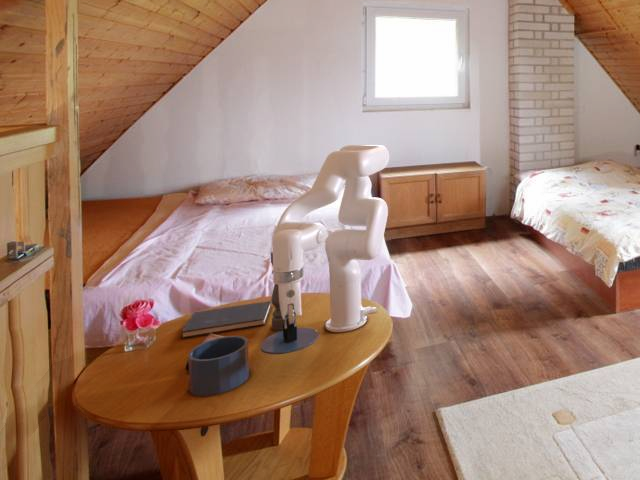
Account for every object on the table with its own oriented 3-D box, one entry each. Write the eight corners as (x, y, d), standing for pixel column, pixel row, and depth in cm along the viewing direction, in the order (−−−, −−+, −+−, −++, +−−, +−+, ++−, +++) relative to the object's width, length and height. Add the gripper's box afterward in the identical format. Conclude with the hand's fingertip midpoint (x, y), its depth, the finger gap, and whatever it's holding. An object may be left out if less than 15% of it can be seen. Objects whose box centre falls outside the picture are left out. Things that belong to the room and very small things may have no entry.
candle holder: (297, 323, 193) (295, 249, 192) (281, 331, 187) (279, 255, 186) (283, 320, 195) (281, 247, 194) (267, 329, 189) (265, 253, 188)
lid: (315, 327, 173) (314, 306, 173) (321, 347, 161) (321, 325, 161) (259, 340, 165) (258, 318, 165) (261, 362, 153) (260, 339, 153)
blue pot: (248, 363, 167) (247, 331, 167) (249, 385, 156) (248, 351, 155) (191, 377, 160) (189, 344, 160) (188, 402, 148) (186, 366, 148)
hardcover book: (264, 325, 191) (264, 318, 191) (181, 338, 183) (181, 331, 182) (271, 306, 206) (271, 300, 206) (194, 318, 197) (194, 311, 197)
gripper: (306, 280, 158) (308, 346, 158) (300, 263, 172) (301, 324, 172) (275, 286, 154) (276, 354, 154) (271, 268, 168) (273, 331, 168)
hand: (290, 338), depth 163 cm, fingers closed on lid, 2 cm apart
